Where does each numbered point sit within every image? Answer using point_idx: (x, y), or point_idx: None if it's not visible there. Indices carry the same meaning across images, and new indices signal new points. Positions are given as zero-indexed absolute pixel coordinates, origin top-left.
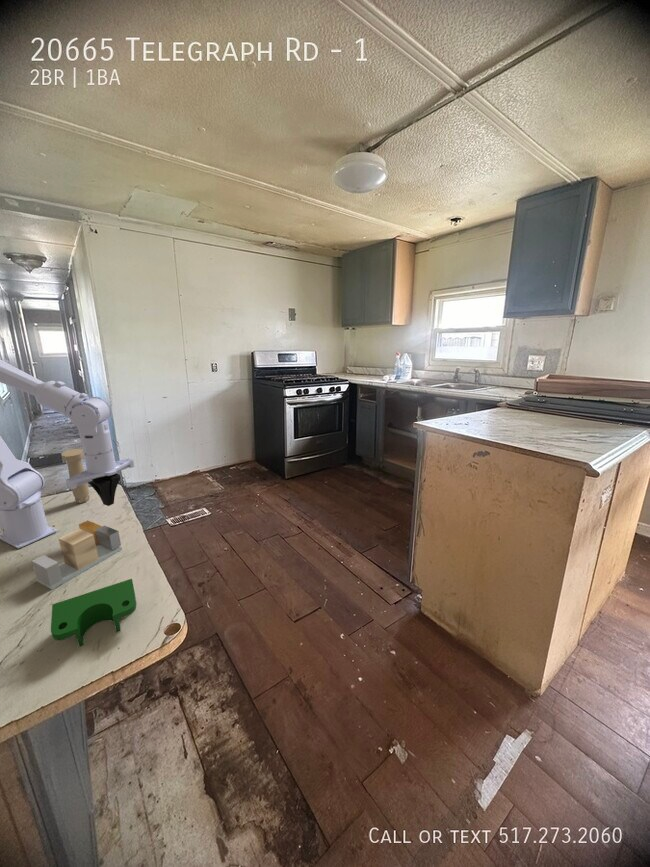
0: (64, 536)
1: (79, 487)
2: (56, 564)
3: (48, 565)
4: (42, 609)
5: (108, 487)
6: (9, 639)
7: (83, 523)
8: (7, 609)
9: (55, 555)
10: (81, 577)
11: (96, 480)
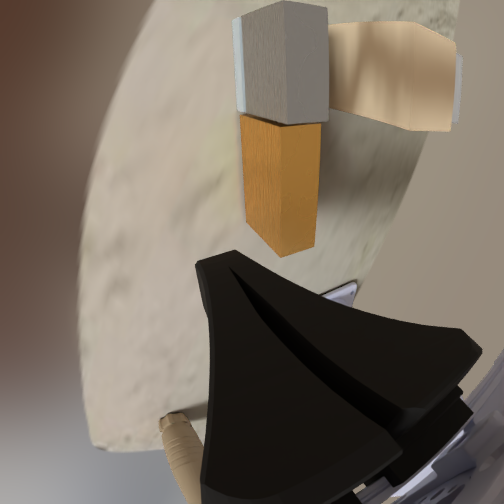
0: (443, 124)
1: (193, 453)
2: None
3: (457, 62)
4: (429, 16)
5: (341, 350)
6: (456, 12)
7: (302, 241)
8: None
9: (345, 186)
10: (367, 18)
11: (447, 416)
